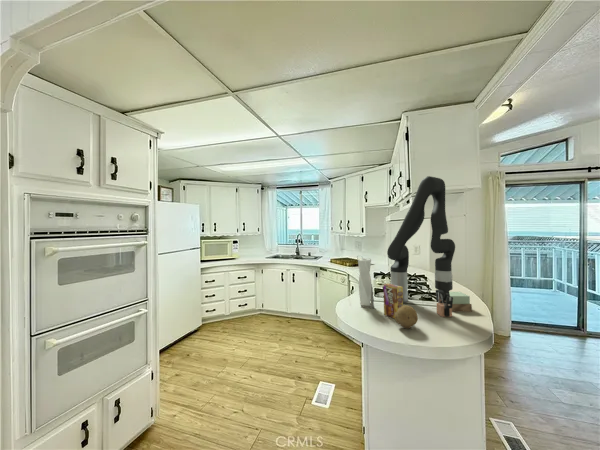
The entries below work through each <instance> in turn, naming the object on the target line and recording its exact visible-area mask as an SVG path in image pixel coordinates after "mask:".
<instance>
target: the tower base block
mask: <svg viewBox="0 0 600 450" xmlns="http://www.w3.org/2000/svg"><path fill="white" fill-rule="evenodd" d="M445 302H446V301H445ZM472 307H473V306H472V303H470V304H452V312H464V313H465V312H466V313H467V312H468V313H469V312H473V308H472Z"/></svg>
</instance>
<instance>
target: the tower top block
mask: <svg viewBox="0 0 600 450" xmlns="http://www.w3.org/2000/svg"><path fill="white" fill-rule="evenodd" d="M449 294H450V297H453V304H471V302H470V301H471V300H470V299H471V297H470V295H468V294H466V293H464V292H462V291H449Z"/></svg>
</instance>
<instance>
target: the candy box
mask: <svg viewBox="0 0 600 450" xmlns="http://www.w3.org/2000/svg"><path fill="white" fill-rule="evenodd" d="M403 305H404V302H403V287H401V286H397V285H393V284H390V283H383V315H384V316H387V317H390V318H393V319H395V315H396V313H397V311H398V309H399V308H400V307H401V306H403Z"/></svg>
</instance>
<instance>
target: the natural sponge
mask: <svg viewBox="0 0 600 450" xmlns="http://www.w3.org/2000/svg"><path fill="white" fill-rule="evenodd" d="M418 316H419V315H418V313H417V311H416V309H415V308H413V307H412V306H411V305H408V304H406V305H404V304H403V306H401V307H400V308H399V309H398V311H397V313H396V315H395V318H394V320H395V322H396V323H397V324H398V325H400V326H401V327H402V328H404V329H407V330H409V329H411V328H412V327H413V326H415V325H416V324H417V323H418V321H419V320H418V319H419V318H418Z"/></svg>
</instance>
